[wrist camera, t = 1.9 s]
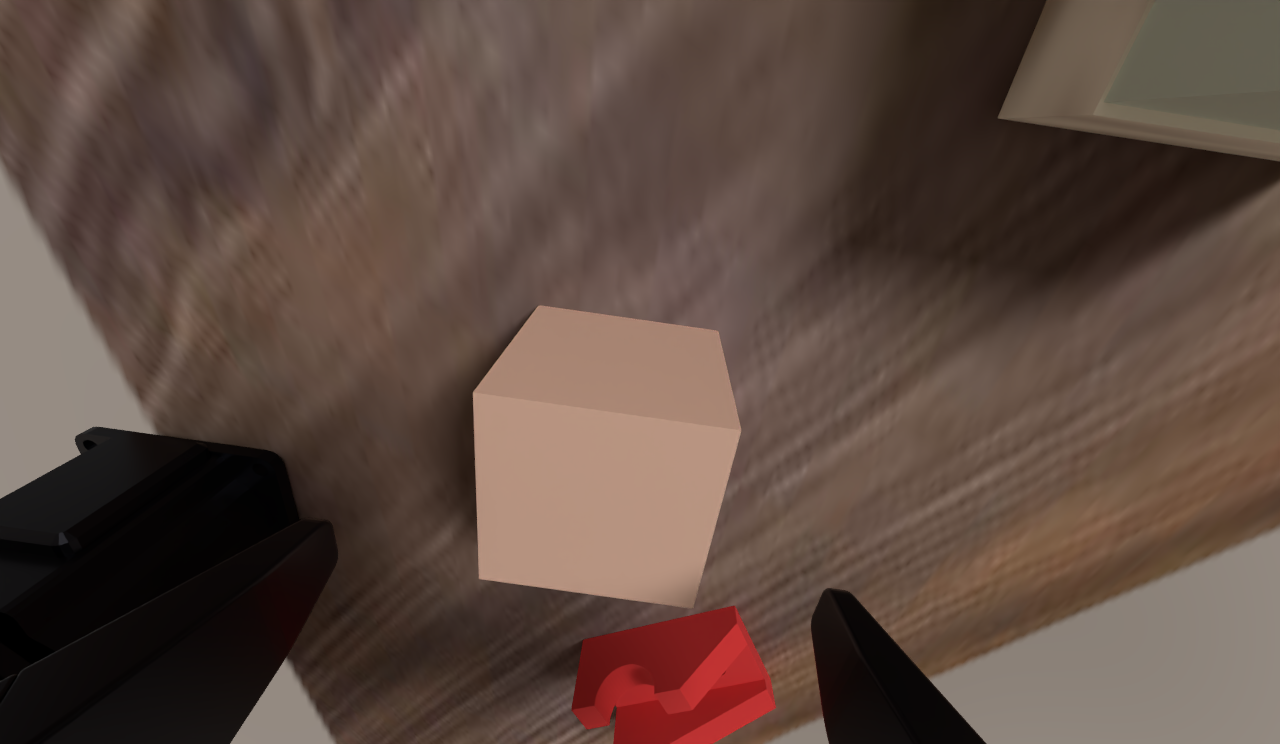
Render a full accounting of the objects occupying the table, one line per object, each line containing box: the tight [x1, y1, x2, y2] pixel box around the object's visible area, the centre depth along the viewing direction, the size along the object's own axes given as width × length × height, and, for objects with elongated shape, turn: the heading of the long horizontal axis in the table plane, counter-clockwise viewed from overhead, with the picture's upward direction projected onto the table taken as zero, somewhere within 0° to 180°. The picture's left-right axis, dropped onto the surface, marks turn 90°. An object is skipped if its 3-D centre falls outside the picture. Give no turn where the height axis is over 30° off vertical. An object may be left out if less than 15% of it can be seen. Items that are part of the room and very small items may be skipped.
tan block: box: [473, 305, 741, 609], centre depth 12 cm, size 5×5×5 cm
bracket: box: [571, 606, 776, 744], centre depth 19 cm, size 6×5×3 cm
